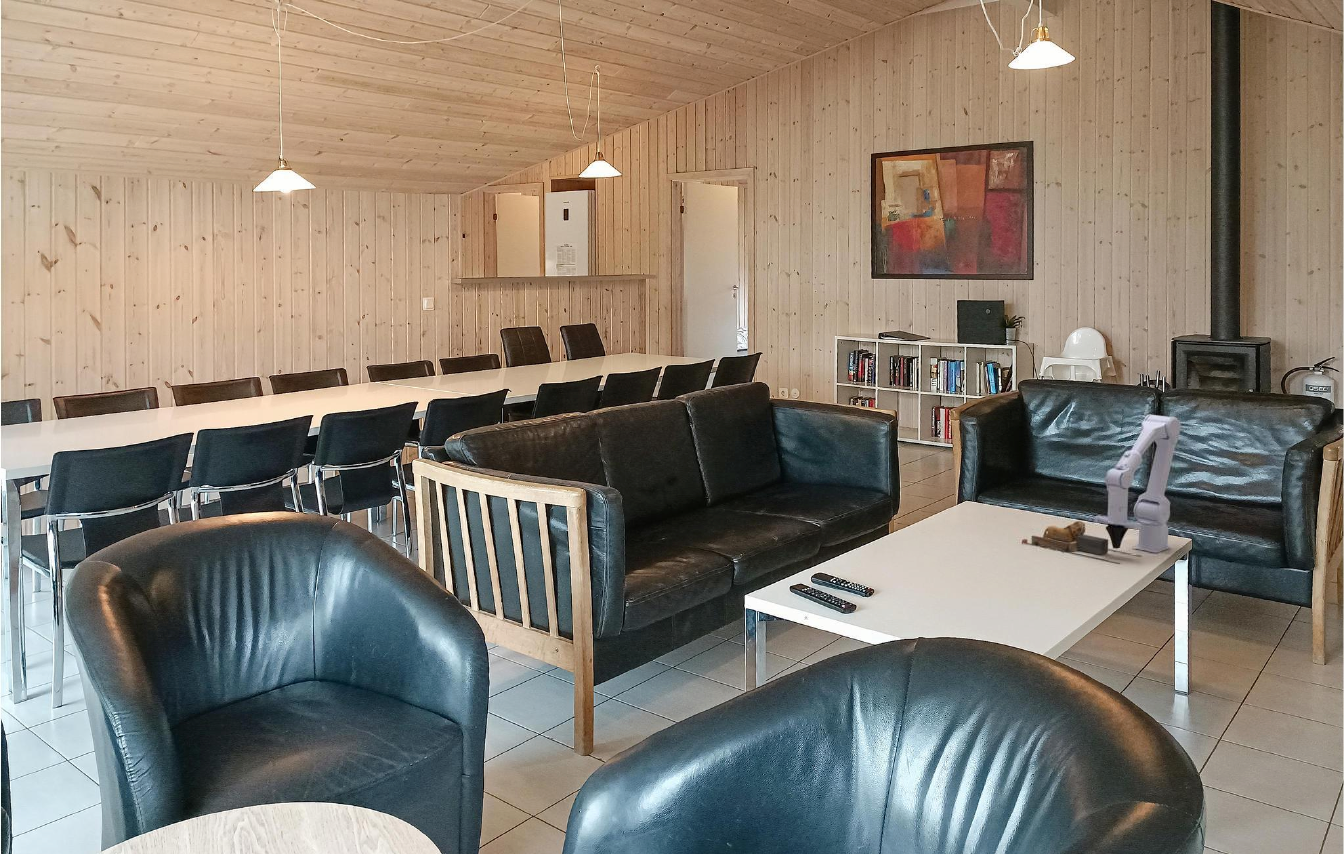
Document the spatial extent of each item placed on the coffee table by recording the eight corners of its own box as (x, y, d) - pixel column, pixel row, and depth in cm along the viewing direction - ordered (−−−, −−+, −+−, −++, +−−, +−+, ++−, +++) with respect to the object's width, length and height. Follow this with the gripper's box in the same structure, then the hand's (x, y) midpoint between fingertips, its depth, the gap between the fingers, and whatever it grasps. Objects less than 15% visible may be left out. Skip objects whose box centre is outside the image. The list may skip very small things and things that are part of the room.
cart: (1053, 537, 364) (1053, 524, 364) (1115, 550, 346) (1116, 536, 346) (1030, 543, 357) (1030, 531, 356) (1092, 557, 338) (1093, 543, 338)
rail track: (1046, 536, 367) (1046, 532, 367) (1142, 556, 339) (1142, 552, 339) (1021, 543, 359) (1022, 539, 359) (1118, 564, 331) (1118, 560, 331)
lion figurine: (1084, 545, 354) (1085, 519, 352) (1085, 549, 349) (1085, 523, 347) (1038, 543, 359) (1038, 517, 357) (1037, 547, 354) (1038, 520, 352)
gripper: (1089, 504, 340) (1088, 545, 342) (1132, 512, 329) (1130, 554, 331) (1102, 501, 344) (1100, 541, 346) (1144, 508, 333) (1143, 550, 335)
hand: (1116, 547), depth 339 cm, fingers closed
